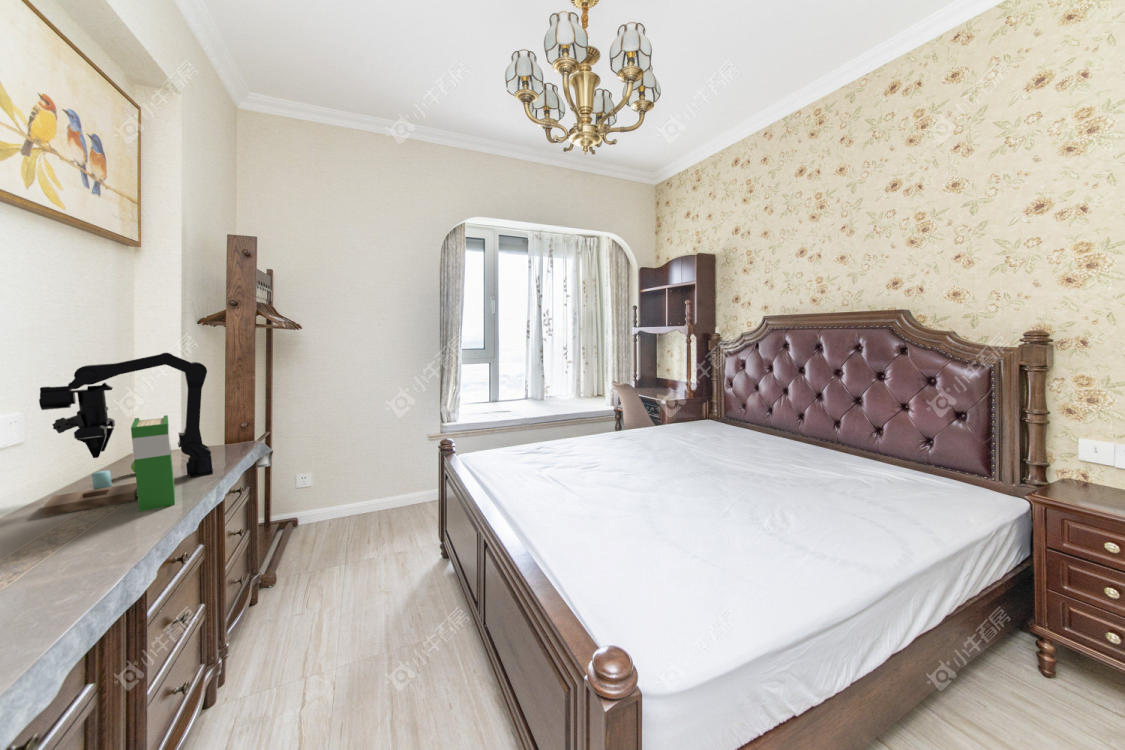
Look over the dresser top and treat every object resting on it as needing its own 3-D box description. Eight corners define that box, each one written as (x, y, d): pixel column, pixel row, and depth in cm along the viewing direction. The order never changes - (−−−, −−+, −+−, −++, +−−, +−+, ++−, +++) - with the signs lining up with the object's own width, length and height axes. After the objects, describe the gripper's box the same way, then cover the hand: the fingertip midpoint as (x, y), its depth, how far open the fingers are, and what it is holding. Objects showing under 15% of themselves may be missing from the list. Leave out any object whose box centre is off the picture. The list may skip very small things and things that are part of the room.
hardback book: (142, 494, 134) (134, 418, 132) (174, 488, 139) (167, 415, 137) (139, 511, 121) (130, 427, 119) (174, 504, 126) (167, 423, 124)
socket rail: (139, 489, 138) (139, 482, 138) (135, 500, 129) (134, 492, 129) (54, 504, 127) (53, 495, 126) (43, 516, 118) (42, 507, 118)
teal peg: (113, 487, 140) (111, 469, 140) (111, 491, 137) (108, 472, 136) (95, 490, 138) (93, 472, 137) (92, 494, 135) (90, 475, 134)
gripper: (62, 404, 137) (68, 452, 138) (44, 413, 122) (51, 467, 124) (112, 400, 144) (118, 446, 145) (101, 408, 129) (107, 459, 131)
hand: (99, 454), depth 136 cm, fingers open, 9 cm apart
